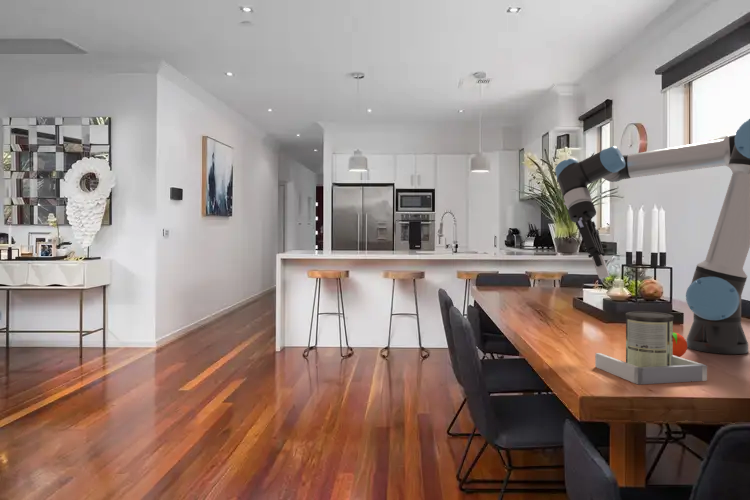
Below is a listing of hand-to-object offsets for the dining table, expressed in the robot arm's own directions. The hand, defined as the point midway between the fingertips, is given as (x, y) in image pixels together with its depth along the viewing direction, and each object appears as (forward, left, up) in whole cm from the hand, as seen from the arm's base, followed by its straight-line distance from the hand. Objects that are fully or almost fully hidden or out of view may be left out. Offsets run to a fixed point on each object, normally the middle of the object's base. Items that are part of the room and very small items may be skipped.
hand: (604, 277), depth 149 cm
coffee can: (-9, +21, -22) cm, 31 cm away
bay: (-8, +22, -21) cm, 32 cm away
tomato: (-17, +3, -22) cm, 28 cm away
